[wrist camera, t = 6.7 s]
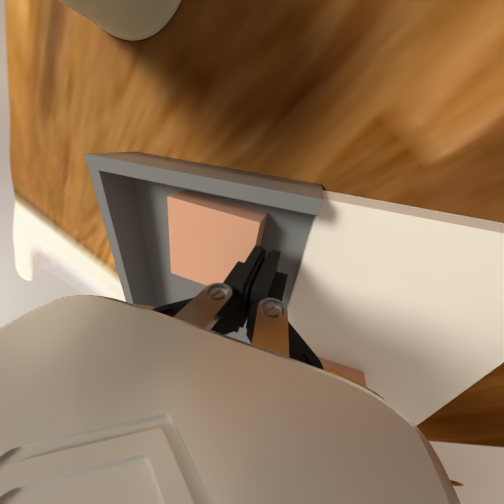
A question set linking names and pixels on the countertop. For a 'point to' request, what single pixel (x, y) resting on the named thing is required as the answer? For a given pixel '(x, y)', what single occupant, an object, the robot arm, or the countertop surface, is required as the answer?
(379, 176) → the countertop surface
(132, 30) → the can
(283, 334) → the robot arm
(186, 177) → the tray
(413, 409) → the plate
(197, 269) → the tile
